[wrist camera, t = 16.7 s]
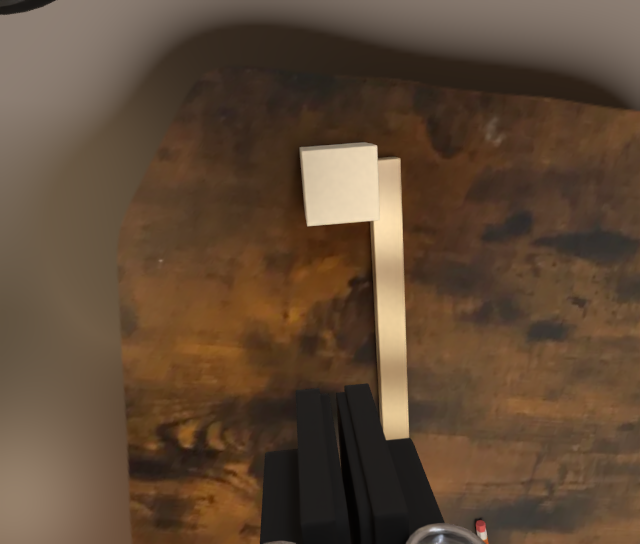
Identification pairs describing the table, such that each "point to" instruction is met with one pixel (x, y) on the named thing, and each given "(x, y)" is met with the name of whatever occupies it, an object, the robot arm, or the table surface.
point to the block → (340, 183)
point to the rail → (390, 302)
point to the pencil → (481, 530)
